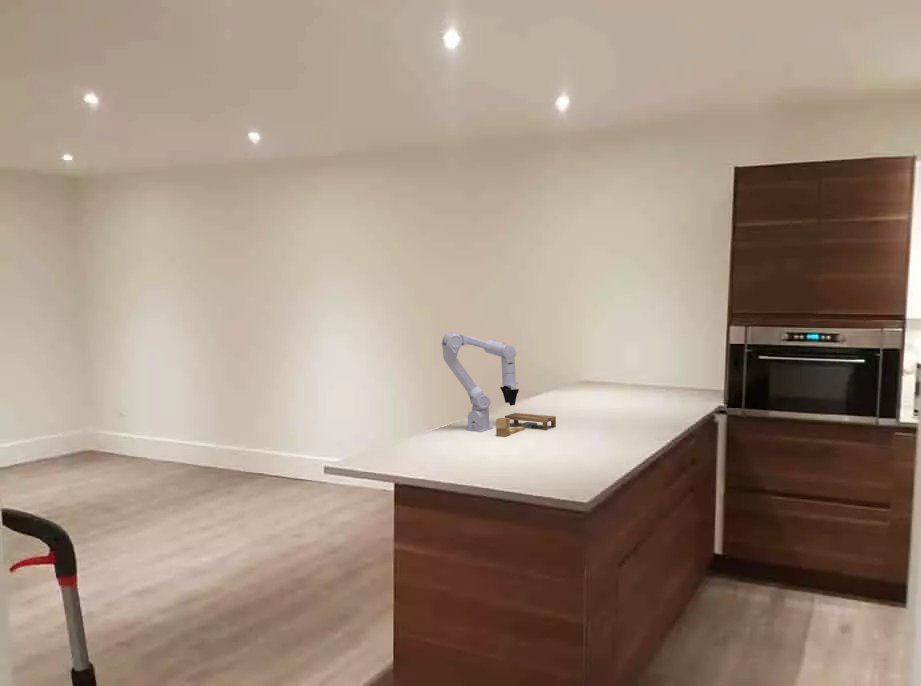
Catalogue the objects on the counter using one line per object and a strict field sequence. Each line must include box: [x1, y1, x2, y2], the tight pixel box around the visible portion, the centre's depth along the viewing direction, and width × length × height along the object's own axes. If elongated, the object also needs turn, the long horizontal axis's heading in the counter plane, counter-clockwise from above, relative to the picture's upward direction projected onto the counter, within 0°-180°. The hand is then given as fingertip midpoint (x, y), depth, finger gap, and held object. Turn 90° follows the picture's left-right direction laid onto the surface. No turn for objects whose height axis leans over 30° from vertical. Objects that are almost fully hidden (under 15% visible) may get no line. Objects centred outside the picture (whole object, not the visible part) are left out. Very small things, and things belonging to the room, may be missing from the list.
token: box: [520, 421, 538, 429], centre depth 322 cm, size 5×5×2 cm
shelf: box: [504, 412, 557, 431], centre depth 323 cm, size 9×20×4 cm, turn 55°
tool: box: [495, 417, 526, 438], centre depth 310 cm, size 17×4×7 cm, turn 145°
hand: (510, 404), depth 323 cm, fingers open, 7 cm apart
